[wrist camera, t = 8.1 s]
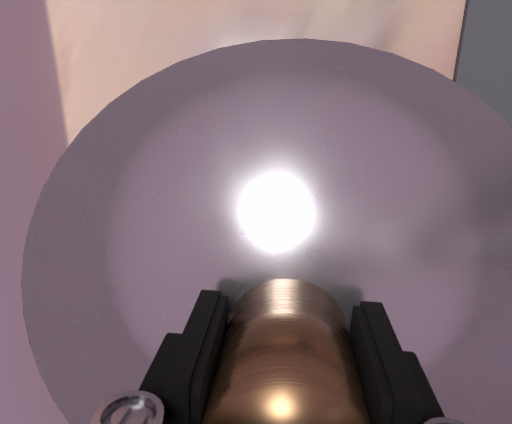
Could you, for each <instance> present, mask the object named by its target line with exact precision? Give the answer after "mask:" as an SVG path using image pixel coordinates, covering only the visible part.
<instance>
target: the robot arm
mask: <svg viewBox="0 0 512 424" xmlns="http://www.w3.org/2000/svg"><path fill="white" fill-rule="evenodd" d="M227 323H228V296H221V291H216V290H201V292H200V294H199V296H198V298H197V301H196V303H195V305H194V308H193V310H192V312H191V314H190V317H189V319H188V321H187V324H186V326H185V328H184V330H183V333H182V334H181V333H167V334H166V336H165V337H164V339H163V341H162V343H161V345H160V347H159V349H158V351H157V353H156V355H155V357H154V359H153V361H152V363H151V365H150V367H149V369H148V371H147V373H146V375H145V377H144V379H143V381H142V383H141V385H140V387H139V389H138V390H134V391H126V392H122V393H119V394H116V395H114V396H112V397H111V398H109V399H107V400H105V401H104V402H103V403H102V404H101V405H100V406H99V407H98V408H97V410H96V412H95V413H94V415H93V417H92V420H91V422H90V424H201V423H202V419H203V416H204V412H205V408H206V404H207V400H208V397H209V393H210V389H211V385H212V381H213V378H214V374H215V370H216V366H217V362H218V359H219V355H220V351H221V347H222V343H223V340H224V336H225V332H226V328H227ZM350 338H351V342H352V346H353V351H354V355H355V359H356V363H357V367H358V371H359V375H360V380H361V384H362V388H363V392H364V396H365V400H366V404H367V409H368V413H369V417H370V421H371V424H467V423H465V422H463V421H460V420H456V419H453V418H446V417H445V415H444V413H443V411H442V409H441V407H440V405H439V403H438V401H437V398H436V396H435V394H434V392H433V390H432V388H431V386H430V384H429V381H428V379H427V377H426V375H425V373H424V371H423V369H422V367H421V364H420V362H419V360H418V358H417V356H416V354H415V353H414V352H410V351H402V348H401V346H400V344H399V341H398V339H397V337H396V334H395V332H394V329H393V327H392V325H391V322H390V320H389V318H388V315H387V313H386V311H385V308H384V306H383V304H382V302H369V301H361V302H360V306H353V309H352V317H351V326H350Z"/></svg>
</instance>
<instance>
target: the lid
mask: <svg viewBox="0 0 512 424" xmlns="http://www.w3.org/2000/svg"><path fill="white" fill-rule="evenodd" d="M21 281H22V282H21V285H22V301H23V314H24V319H25V324H26V329H27V334H28V339H29V343H30V347H31V349H32V352H33V355H34V358H35V361H36V364H37V366H38V369H39V372H40V374H41V376H42V378H43V380H44V382H45V384H46V386H47V388H48V390H49V392H50V394H51V396H52V398H53V400H54V401H55V403H56V405H57V406H58V408H59V409H60V411H61V412H62V414H63V415H64V417H65V418H66V420H67V421H68V423H69V424H90V422H91V420H92V417H93V415H94V413H95V412H96V410H97V408H98V407H99V406H100V405H101V404H102V403H103V402H104V401H105V400H107V399H109V398H111V397H112V396H114V395H116V394H119V393H122V392H126V391H134V390H138V389H139V387H140V385H141V383H142V381H143V379H144V377H145V375H146V373H147V371H148V369H149V367H150V365H151V363H152V361H153V359H154V357H155V355H156V353H157V351H158V349H159V347H160V345H161V343H162V341H163V339H164V337H165V336H166V334H167V333H181V334H182V333H183V330H184V328H185V326H186V324H187V321H188V319H189V317H190V314H191V312H192V310H193V308H194V305H195V303H196V301H197V298H198V296H199V294H200V292H201V290H216V291H221V296H228V323H227V328H226V332H225V336H224V340H223V343H222V347H221V351H220V355H219V359H218V362H217V366H216V370H215V374H214V378H213V381H212V385H211V389H210V393H209V397H208V400H207V404H206V408H205V412H204V416H203V419H202V423H201V424H371V421H370V417H369V413H368V409H367V404H366V400H365V396H364V392H363V388H362V384H361V380H360V375H359V371H358V367H357V363H356V359H355V355H354V351H353V346H352V342H351V338H350V326H351V317H352V309H353V306H360V302H361V301H369V302H382V304H383V306H384V308H385V311H386V313H387V315H388V318H389V320H390V322H391V325H392V327H393V329H394V332H395V334H396V337H397V339H398V341H399V344H400V346H401V348H402V351H410V352H414V353H415V354H416V356H417V358H418V360H419V362H420V364H421V367H422V369H423V371H424V373H425V375H426V377H427V379H428V381H429V384H430V386H431V388H432V390H433V392H434V394H435V396H436V398H437V401H438V403H439V405H440V407H441V409H442V411H443V413H444V415H445V417H446V418H453V419H456V420H460V421H463V422H465V423H467V424H512V126H511V125H510V124H509V123H508V122H507V121H506V120H505V119H504V118H503V117H502V116H501V115H499V114H498V113H497V112H496V111H494V110H493V109H492V108H491V107H489V106H488V105H487V104H486V103H484V102H483V101H482V100H481V99H480V98H478V97H477V96H476V95H475V94H473V93H472V92H471V91H469V90H467V89H466V88H464V87H462V86H460V85H459V84H457V83H455V82H454V81H452V80H450V79H448V78H447V77H445V76H443V75H442V74H440V73H438V72H436V71H435V70H433V69H430V68H428V67H425V66H423V65H420V64H418V63H415V62H413V61H410V60H408V59H405V58H403V57H400V56H398V55H395V54H393V53H389V52H385V51H381V50H377V49H373V48H369V47H364V46H360V45H356V44H352V43H346V42H336V41H325V40H315V39H283V40H261V41H256V42H250V43H245V44H239V45H234V46H229V47H223V48H218V49H215V50H212V51H209V52H206V53H203V54H200V55H197V56H194V57H191V58H189V59H186V60H183V61H180V62H177V63H175V64H173V65H171V66H169V67H167V68H165V69H163V70H161V71H160V72H158V73H156V74H154V75H152V76H150V77H148V78H146V79H144V80H142V81H140V82H139V83H138V84H136V85H135V86H133V87H132V88H130V89H129V90H128V91H126V92H125V93H123V94H122V95H120V96H119V97H118V98H116V99H115V100H113V101H112V102H110V103H109V104H108V105H107V106H106V107H105V108H104V109H103V110H102V111H101V112H100V113H99V114H98V115H97V116H96V117H95V118H93V119H92V120H91V121H90V122H89V123H88V124H87V125H86V126H85V127H84V128H83V129H82V130H81V131H80V133H79V134H78V135H77V137H76V138H75V139H74V140H73V142H72V143H71V144H70V146H69V147H68V148H67V149H66V151H65V152H64V153H63V155H62V156H61V157H60V159H59V160H58V162H57V164H56V166H55V168H54V169H53V171H52V173H51V174H50V176H49V178H48V180H47V182H46V183H45V185H44V187H43V189H42V191H41V194H40V197H39V199H38V202H37V205H36V207H35V210H34V212H33V215H32V218H31V221H30V225H29V230H28V234H27V239H26V243H25V248H24V253H23V267H22V280H21Z"/></svg>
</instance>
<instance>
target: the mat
mask: <svg viewBox="0 0 512 424" xmlns="http://www.w3.org/2000/svg"><path fill="white" fill-rule="evenodd" d="M453 81H454V82H455V83H457V84H459V85H460V86H462V87H464V88H466V89H467V90H469V91H471V92H472V93H473V94H475V95H476V96H477V97H478V98H480V99H481V100H482V101H483V102H484V103H486V104H487V105H488V106H489V107H491V108H492V109H493V110H494V111H496V112H497V113H498V114H499V115H501V116H502V117H503V118H504V119H505V120H506V121H507V122H508V123H509V124H510V125H511V126H512V0H466V5H465V11H464V17H463V23H462V29H461V35H460V41H459V47H458V53H457V59H456V65H455V71H454V77H453Z"/></svg>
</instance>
